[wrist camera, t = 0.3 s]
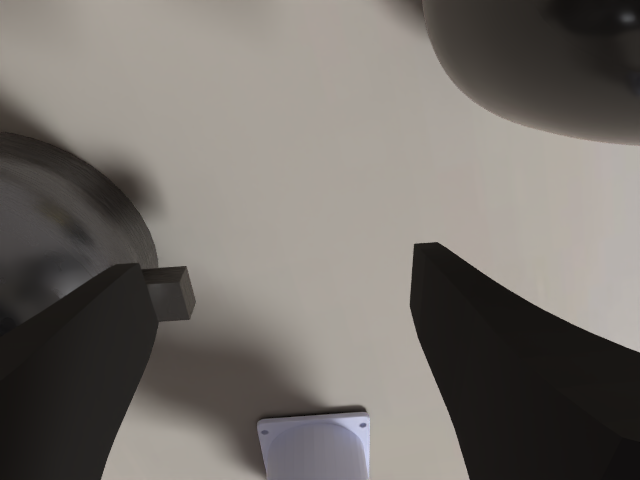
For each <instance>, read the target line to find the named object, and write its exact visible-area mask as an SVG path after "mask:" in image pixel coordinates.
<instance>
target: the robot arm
mask: <svg viewBox="0 0 640 480" xmlns="http://www.w3.org/2000/svg"><path fill="white" fill-rule="evenodd" d="M410 309H411V313H412V317H413V321H414V325H415V328H416V332H417V336H418V339H419V341H420V344H421V346H422V349H423V351H424V354H425V356H426V359H427V361H428V364H429V366H430V368H431V371H432V373H433V376H434V378H435V381H436V383H437V385H438V388H439V390H440V393H441V395H442V397H443V400H444V402H445V405H446V407H447V410H448V412H449V415H450V417H451V420H452V423H453V426H454V428H455V431H456V435H457V438H458V441H459V445H460V448H461V451H462V455H463V458H464V461H465V465H466V468H467V471H468V475H469V479H470V480H640V352H637V351H634V350H631V349H629V348H626V347H624V346H622V345H619V344H617V343H614V342H612V341H609V340H607V339H605V338H602V337H600V336H597V335H595V334H593V333H590V332H588V331H586V330H584V329H582V328H579V327H577V326H575V325H573V324H571V323H569V322H567V321H565V320H563V319H561V318H559V317H557V316H555V315H553V314H551V313H549V312H547V311H545V310H543V309H541V308H539V307H537V306H535V305H534V304H532V303H530V302H528V301H527V300H525V299H523V298H522V297H520V296H518V295H517V294H515V293H513V292H511V291H510V290H508V289H506V288H505V287H503V286H502V285H500V284H499V283H497V282H495V281H494V280H492V279H491V278H489V277H488V276H486V275H485V274H483V273H482V272H480V271H479V270H477V269H476V268H474V267H473V266H472V265H470V264H469V263H467V262H466V261H464V260H463V259H462V258H460V257H459V256H457V255H456V254H454V253H453V252H452V251H450V250H449V249H447V248H446V247H444V246H443V245H441V244H439V243H438V242H434V243H419V244H414V253H413V267H412V280H411V294H410ZM158 324H159V322H158V319H157V316H156V313H155V310H154V307H153V304H152V301H151V298H150V295H149V292H148V289H147V286H146V283H145V279H144V276H143V273H142V270H141V267H140V264H139V263H126V264H115V265H113V266H111V267H109V268H108V269H106V270H104V271H102V272H101V273H99V274H98V275H96V276H95V277H93V278H91V279H90V280H88V281H87V282H85V283H84V284H82V285H81V286H79V287H78V288H76V289H75V290H73V291H72V292H70V293H69V294H67V295H66V296H64V297H63V298H61V299H60V300H58V301H57V302H55V303H54V304H52V305H51V306H49V307H48V308H46V309H45V310H43V311H41V312H40V313H38V314H37V315H35V316H33V317H32V318H30V319H29V320H27V321H25V322H24V323H22V324H20V325H19V326H17V327H16V328H14V329H12V330H11V331H9V332H8V333H6V334H4V335H3V336H1V337H0V480H101V477H102V474H103V471H104V468H105V464H106V461H107V458H108V455H109V453H110V450H111V447H112V445H113V442H114V440H115V437H116V435H117V432H118V430H119V428H120V425H121V423H122V421H123V419H124V416H125V414H126V412H127V409H128V407H129V405H130V402H131V400H132V398H133V396H134V393H135V391H136V389H137V386H138V384H139V382H140V379H141V377H142V375H143V372H144V370H145V367H146V365H147V363H148V360H149V358H150V354H151V351H152V347H153V344H154V340H155V336H156V332H157V328H158ZM257 431H258V436H259V440H260V445H261V450H262V455H263V460H264V465H265V469H266V474H267V477H266V480H369V446H370V417H369V414H368V413H366V412H352V413H339V414H325V415H311V416H298V417H284V418H270V419H261V420H259V421H258V422H257Z"/></svg>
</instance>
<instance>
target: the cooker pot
mask: <svg viewBox="0 0 640 480" xmlns="http://www.w3.org/2000/svg"><path fill="white" fill-rule="evenodd" d="M126 263H139V264H140V267H141V270H142V273H143V276H144V279H145V283H146V286H147V289H148V292H149V295H150V298H151V301H152V304H153V307H154V310H155V313H156V316H157V319H158V322H161V321H175V320H189V319H190V318H191V315H192V312H193V309H194V306H195V303H196V301H195V297H194V293H193V289H192V285H191V282H190V278H189V274H188V270H187V266H181V267H166V268H158V258H157V253H156V249H155V245H154V242H153V239H152V237H151V234H150V232H149V230H148V228H147V226H146V224H145V222H144V220H143V219H142V217H141V215H140V214H139V213H138V211H137V210H136V208H135V207H134V206H133V204H132V203H131V202H130V201H129V200H128V198H127V197H126V196H125V195H124V194H123V193H122V192H121V191H120V189H118V188H117V187H116V186H115V185H114V184H113V183H112V182H111V181H110V180H108V179H107V178H106V177H105V176H104V175H102V174H101V173H100V172H98V171H97V170H96V169H94V168H93V167H92V166H90V165H89V164H87V163H85V162H84V161H82V160H80V159H79V158H77V157H75V156H74V155H72V154H70V153H68V152H66V151H63V150H61V149H59V148H57V147H55V146H53V145H50V144H47V143H44V142H42V141H39V140H36V139H33V138H29V137H25V136H21V135H16V134H12V133H5V132H0V337H1V336H3V335H4V334H6V333H8V332H9V331H11V330H12V329H14V328H16V327H17V326H19V325H20V324H22V323H24V322H25V321H27V320H29V319H30V318H32V317H33V316H35V315H37V314H38V313H40V312H41V311H43V310H45V309H46V308H48V307H49V306H51V305H52V304H54V303H55V302H57V301H58V300H60V299H61V298H63V297H64V296H66V295H67V294H69V293H70V292H72V291H73V290H75V289H76V288H78V287H79V286H81V285H82V284H84V283H85V282H87V281H88V280H90V279H91V278H93V277H95V276H96V275H98V274H99V273H101V272H102V271H104V270H106V269H108V268H109V267H111V266H113V265H115V264H126Z"/></svg>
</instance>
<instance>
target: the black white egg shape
mask: <svg viewBox="0 0 640 480" xmlns="http://www.w3.org/2000/svg"><path fill="white" fill-rule="evenodd" d="M422 5H423V12H424V18H425V23H426V27H427V31H428V35H429V38H430V41H431V44H432V47H433V49H434V52H435V54H436V56H437V58H438V60H439V62H440V64H441V66H442V67H443V69H444V71H445V72H446V74H447V75H448V76H449V78H450V79H451V80H452V82H453V83H454V84H455V85H456V86H457V87H458V89H459V90H460V91H462V92H463V93H464V94H465V95H466V96H467V97H468V98H469V99H471V100H472V101H473V102H475V103H476V104H478V105H479V106H481V107H482V108H484V109H486V110H487V111H489V112H491V113H493V114H495V115H497V116H499V117H501V118H504V119H506V120H508V121H511V122H514V123H516V124H519V125H523V126H526V127H529V128H533V129H537V130H541V131H545V132H549V133H553V134H557V135H562V136H567V137H572V138H577V139H582V140H588V141H595V142H603V143H611V144H621V145H634V146H640V0H422Z"/></svg>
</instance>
